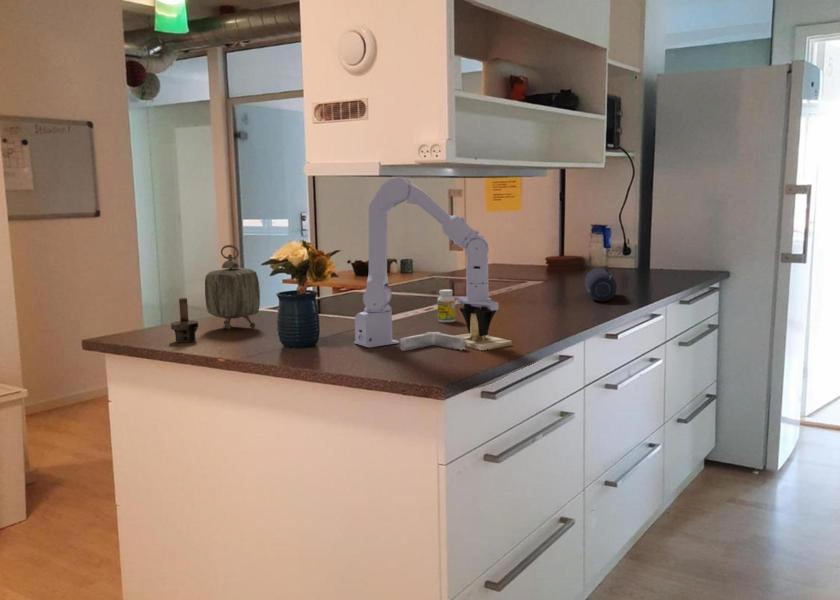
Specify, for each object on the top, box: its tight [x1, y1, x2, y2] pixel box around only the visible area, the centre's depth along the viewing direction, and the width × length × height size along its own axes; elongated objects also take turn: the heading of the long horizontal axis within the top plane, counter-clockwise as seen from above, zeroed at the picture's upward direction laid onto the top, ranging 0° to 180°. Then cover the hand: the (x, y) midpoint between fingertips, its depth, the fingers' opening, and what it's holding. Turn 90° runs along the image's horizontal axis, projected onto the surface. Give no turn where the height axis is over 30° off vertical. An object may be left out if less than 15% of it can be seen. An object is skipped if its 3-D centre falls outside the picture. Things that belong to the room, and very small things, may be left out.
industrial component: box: [170, 297, 199, 343], centre depth 214 cm, size 9×7×12 cm
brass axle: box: [470, 312, 486, 342], centre depth 203 cm, size 4×4×8 cm
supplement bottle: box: [437, 289, 456, 323], centre depth 237 cm, size 5×5×10 cm
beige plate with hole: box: [455, 333, 513, 351], centre depth 203 cm, size 15×10×1 cm, turn 34°
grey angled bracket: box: [399, 331, 466, 352], centre depth 200 cm, size 9×16×3 cm, turn 87°
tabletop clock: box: [204, 244, 261, 331], centre depth 231 cm, size 14×9×25 cm, turn 59°
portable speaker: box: [584, 267, 618, 303], centre depth 280 cm, size 25×10×10 cm, turn 171°
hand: (477, 334), depth 203 cm, fingers closed on brass axle, 4 cm apart
